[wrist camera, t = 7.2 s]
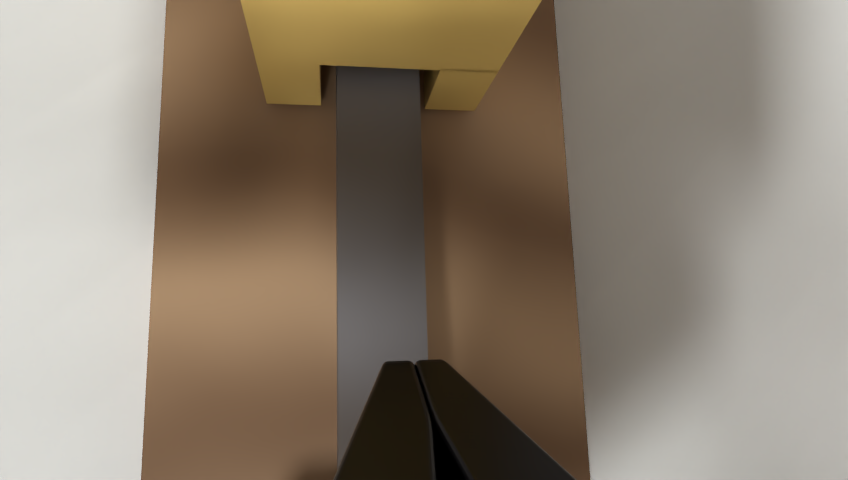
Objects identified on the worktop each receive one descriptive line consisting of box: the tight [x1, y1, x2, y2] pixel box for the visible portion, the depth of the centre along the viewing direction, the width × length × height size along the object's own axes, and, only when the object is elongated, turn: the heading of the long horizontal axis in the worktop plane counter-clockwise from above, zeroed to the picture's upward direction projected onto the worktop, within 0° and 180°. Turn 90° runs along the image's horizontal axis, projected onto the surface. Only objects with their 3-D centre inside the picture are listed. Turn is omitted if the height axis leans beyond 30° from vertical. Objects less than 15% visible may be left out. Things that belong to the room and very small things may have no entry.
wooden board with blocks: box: [141, 0, 590, 480], centre depth 14 cm, size 23×11×7 cm, turn 1°
